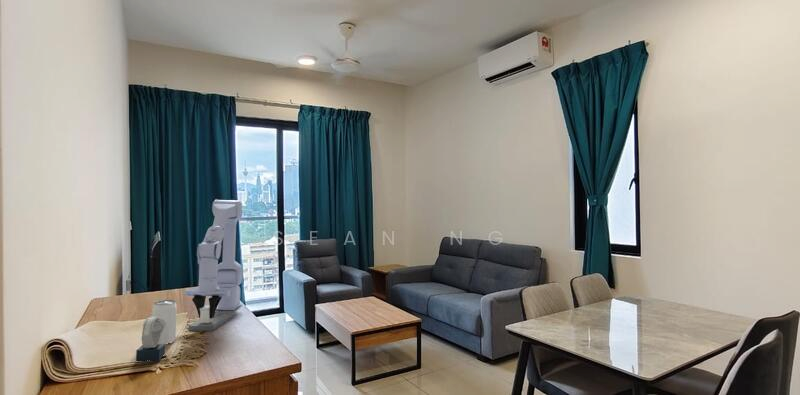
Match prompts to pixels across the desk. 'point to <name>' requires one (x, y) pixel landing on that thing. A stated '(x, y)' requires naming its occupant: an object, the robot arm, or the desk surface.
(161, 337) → the can
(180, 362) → the desk surface
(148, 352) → the grey statuette
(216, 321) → the console
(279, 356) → the desk surface
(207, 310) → the fader tab
